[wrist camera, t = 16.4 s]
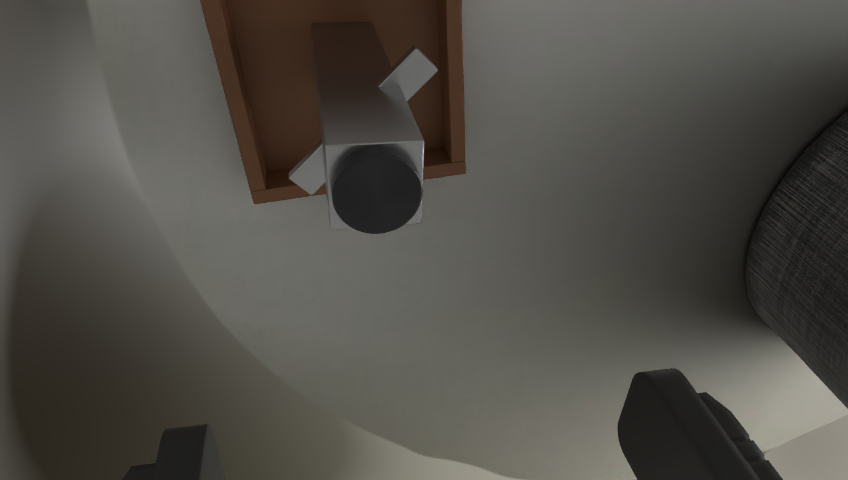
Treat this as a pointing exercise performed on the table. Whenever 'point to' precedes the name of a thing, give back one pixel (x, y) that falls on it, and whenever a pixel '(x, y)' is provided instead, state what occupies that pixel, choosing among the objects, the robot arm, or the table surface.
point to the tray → (295, 81)
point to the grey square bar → (365, 130)
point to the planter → (808, 259)
